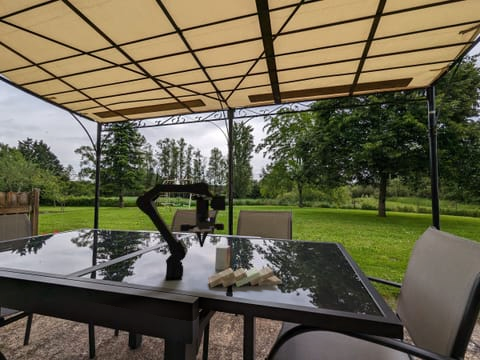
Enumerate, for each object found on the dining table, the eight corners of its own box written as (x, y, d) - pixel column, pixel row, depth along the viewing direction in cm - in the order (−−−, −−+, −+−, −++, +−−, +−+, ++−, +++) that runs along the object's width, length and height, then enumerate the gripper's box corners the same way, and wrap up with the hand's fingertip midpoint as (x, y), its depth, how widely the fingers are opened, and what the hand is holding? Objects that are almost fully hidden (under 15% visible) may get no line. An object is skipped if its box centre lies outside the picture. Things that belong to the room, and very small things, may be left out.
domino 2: (222, 283, 88) (245, 272, 90) (219, 277, 94) (242, 267, 96) (223, 287, 88) (247, 276, 90) (221, 282, 94) (243, 272, 96)
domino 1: (209, 282, 87) (233, 271, 90) (207, 277, 93) (230, 267, 95) (211, 287, 87) (235, 276, 90) (209, 282, 93) (232, 272, 95)
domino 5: (258, 281, 92) (281, 280, 95) (253, 277, 98) (274, 275, 101) (258, 287, 92) (280, 285, 95) (253, 282, 98) (274, 280, 100)
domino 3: (235, 282, 89) (258, 271, 91) (233, 277, 95) (255, 267, 97) (237, 287, 89) (260, 276, 91) (234, 281, 95) (256, 271, 97)
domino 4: (250, 281, 91) (272, 270, 93) (246, 275, 96) (268, 266, 99) (251, 285, 91) (274, 275, 93) (248, 280, 96) (269, 270, 99)
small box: (225, 270, 111) (226, 248, 112) (214, 269, 112) (215, 247, 113) (229, 266, 119) (230, 245, 120) (219, 265, 120) (220, 244, 121)
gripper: (181, 211, 90) (180, 252, 89) (227, 211, 96) (226, 249, 94) (180, 210, 101) (179, 246, 100) (221, 210, 107) (221, 244, 105)
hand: (201, 247), depth 99 cm, fingers closed
